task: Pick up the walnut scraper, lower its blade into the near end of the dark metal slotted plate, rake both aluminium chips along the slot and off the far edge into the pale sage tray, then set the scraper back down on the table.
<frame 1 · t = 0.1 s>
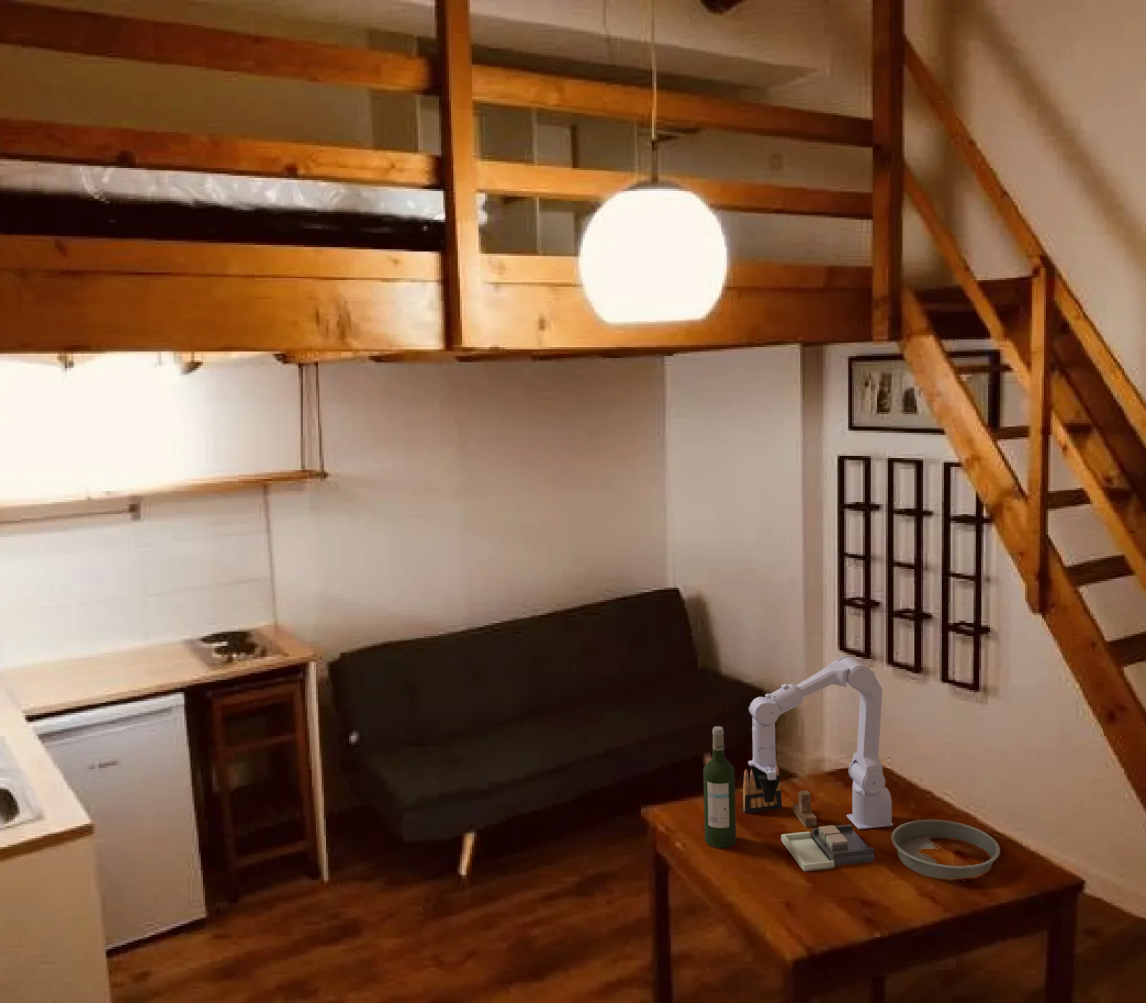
hand: (764, 795, 260), 10 cm above the table, tool pointing down, fingers open, 7 cm apart
chip right: (829, 839, 253), point 2 cm above the table, touching slot plate
ammunition clip: (762, 810, 275), on the table
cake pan: (944, 860, 245), on the table
chip left: (836, 847, 248), point 2 cm above the table, touching slot plate
scraper: (804, 819, 268), on the table
slot plate: (842, 850, 251), on the table
tray: (806, 853, 250), on the table
wine bottle: (720, 841, 258), on the table
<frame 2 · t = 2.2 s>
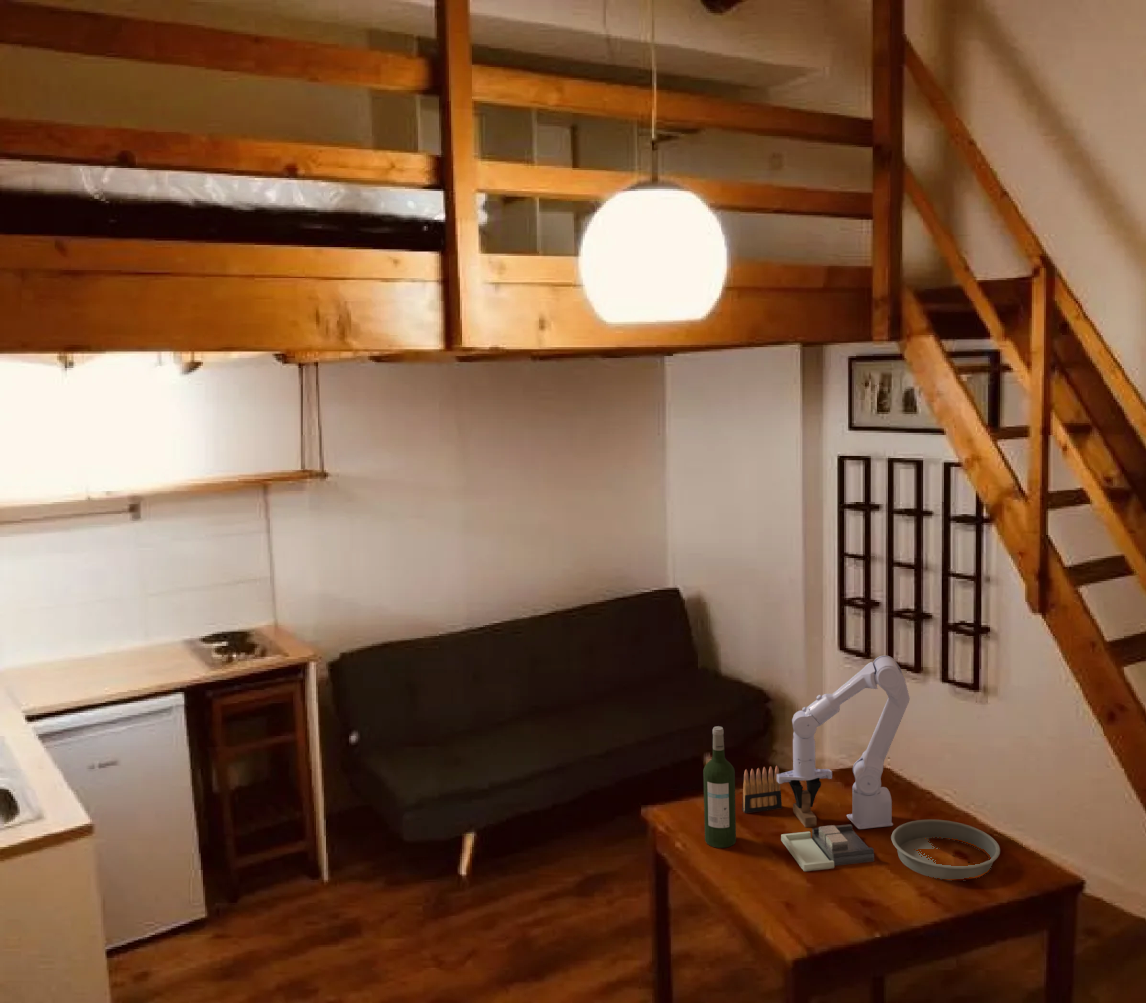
hand: (804, 806, 268), 4 cm above the table, tool pointing down, fingers closed on scraper, 2 cm apart
scraper: (804, 819, 268), on the table, touching gripper
everything else where it was.
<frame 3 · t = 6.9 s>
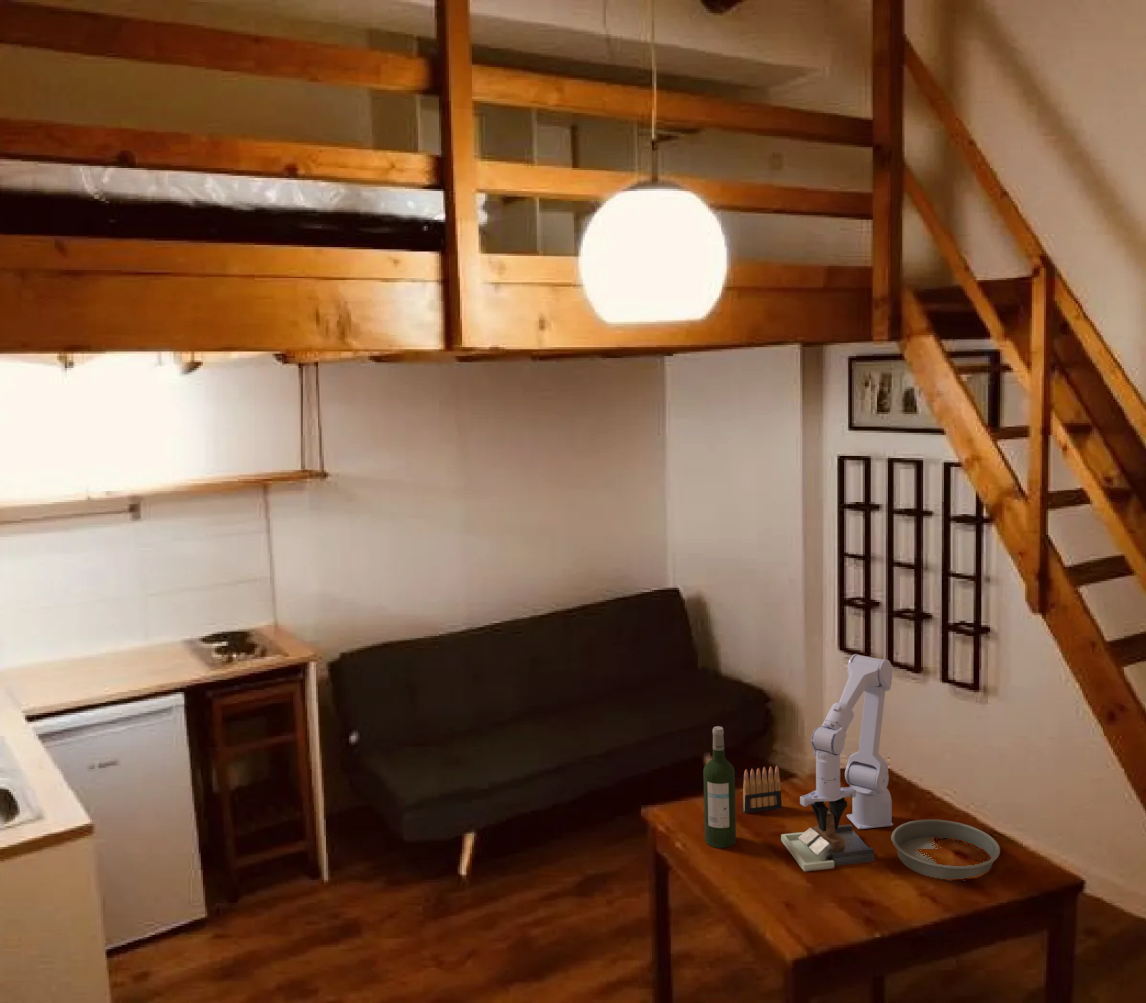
hand: (828, 828, 250), 6 cm above the table, tool pointing down, fingers closed on scraper, 3 cm apart
chip right: (812, 843, 252), point 1 cm above the table, tilted 30°, touching scraper, tray
chip left: (824, 852, 247), point 2 cm above the table, tilted 35°, touching slot plate, tray
scraper: (829, 842, 251), point 2 cm above the table, tilted 6°, touching chip right, gripper, slot plate
everything else where it was.
when the fingers open (5 cm above the table, at t = 10.6 s): scraper stays where it is, on the table.
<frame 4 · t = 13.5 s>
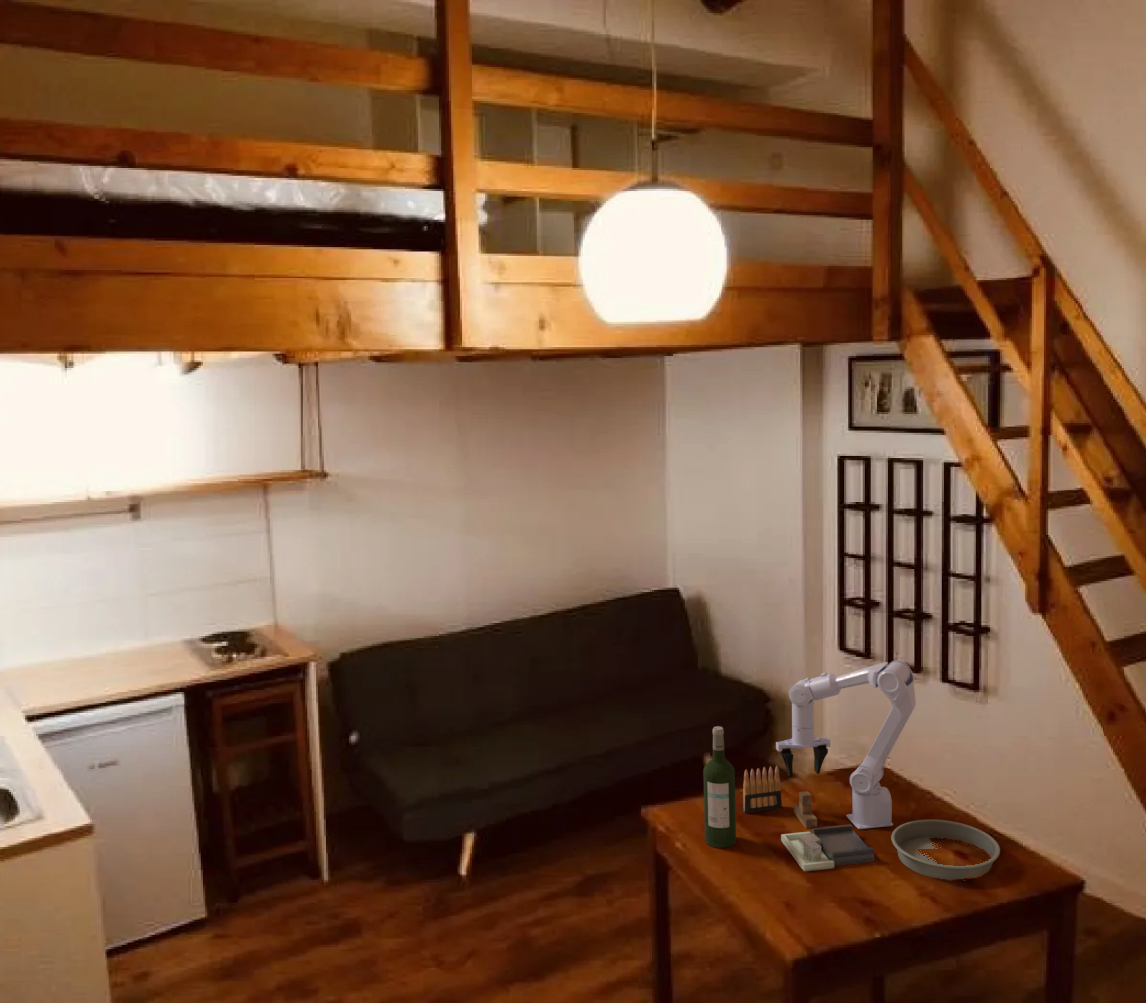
hand: (803, 773, 273), 10 cm above the table, tool pointing down, fingers open, 7 cm apart
chip right: (809, 847, 252), resting on tray
chip left: (816, 851, 246), point 2 cm above the table, tilted 90°, touching tray
scraper: (805, 820, 268), on the table
everything else where it was.
at the end: chip left inside the target area on the tray (3.5 cm from its centre), point 2.4 cm above the tray's base; chip right inside the target area on the tray (2.4 cm from its centre), point 0.4 cm above the tray's base; scraper inside the target area (0.5 cm from its centre), on the table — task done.
